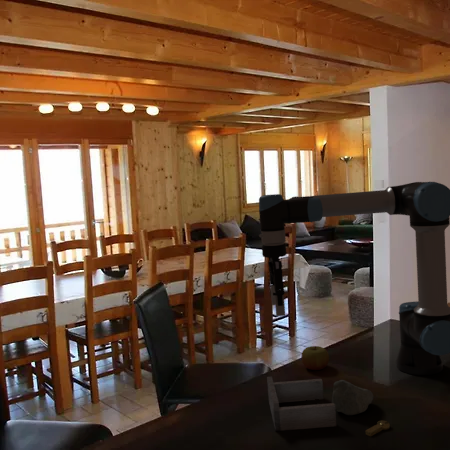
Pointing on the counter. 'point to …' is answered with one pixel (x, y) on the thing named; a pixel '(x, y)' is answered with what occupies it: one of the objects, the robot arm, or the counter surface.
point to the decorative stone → (350, 398)
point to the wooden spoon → (378, 428)
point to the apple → (315, 358)
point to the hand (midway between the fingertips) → (278, 309)
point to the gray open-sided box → (299, 414)
